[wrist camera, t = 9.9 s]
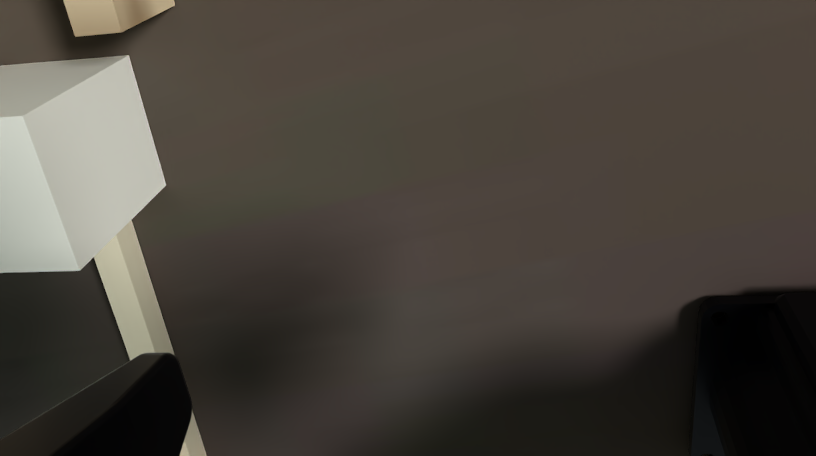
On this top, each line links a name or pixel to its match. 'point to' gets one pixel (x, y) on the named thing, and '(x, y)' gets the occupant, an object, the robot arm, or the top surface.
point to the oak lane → (111, 14)
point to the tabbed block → (82, 187)
